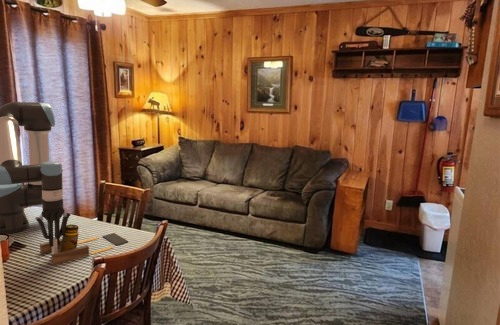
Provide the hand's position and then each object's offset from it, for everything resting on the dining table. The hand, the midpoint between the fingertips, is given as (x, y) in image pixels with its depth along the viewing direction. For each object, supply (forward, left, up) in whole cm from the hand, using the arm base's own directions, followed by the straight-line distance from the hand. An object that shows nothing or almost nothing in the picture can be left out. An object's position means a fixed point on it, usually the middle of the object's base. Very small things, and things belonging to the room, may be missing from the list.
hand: (54, 252), depth 141 cm
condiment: (-1, +5, -2) cm, 5 cm away
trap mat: (-1, +27, -2) cm, 27 cm away
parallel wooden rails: (-1, +4, -2) cm, 5 cm away
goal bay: (-1, +17, -2) cm, 17 cm away
